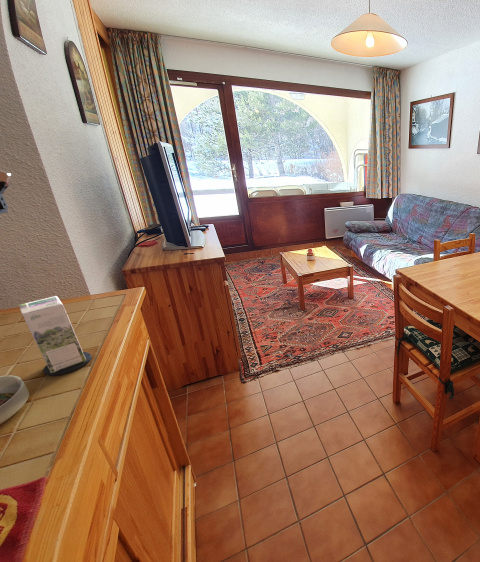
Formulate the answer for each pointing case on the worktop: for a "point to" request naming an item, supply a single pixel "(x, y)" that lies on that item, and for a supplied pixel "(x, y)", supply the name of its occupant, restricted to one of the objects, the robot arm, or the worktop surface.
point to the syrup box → (53, 333)
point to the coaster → (69, 369)
